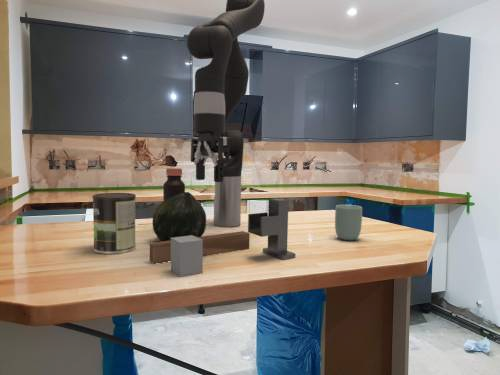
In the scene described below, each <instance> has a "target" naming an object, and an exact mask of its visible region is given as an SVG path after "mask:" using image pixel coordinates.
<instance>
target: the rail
mask: <svg viewBox="0 0 500 375" xmlns="http://www.w3.org/2000/svg"><path fill="white" fill-rule="evenodd" d="M250 235H251V233H249V232H248V231H244V230H242V231H234V232H227V233H217V234H211V235H202V236H201V237H197V238H200V239H202V240H203V257H207V255H209V256H215V255H220V254H219V253H221V254H226V252H227V253H232V251H233V252H238V250H239V251H245V250H249V249H250V238H251V237H250ZM214 254H215V255H214ZM150 261H151V262H150ZM168 261H171V241H157V242H156V241H155V242H150V243H149V262H150V263H152V262H153V263H154V264H153V263H152V264H153V265H157V264H156V263H160V264H164V263H163V262H166V263H169V262H168Z"/></svg>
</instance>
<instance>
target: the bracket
mask: <svg viewBox="0 0 500 375" xmlns="http://www.w3.org/2000/svg"><path fill="white" fill-rule="evenodd" d="M267 211H268V212H267ZM267 211H266V212H265V211H264V212H257V213H248V215H247V216H248V219H247V222H248V223H247V233H250V234H253V235H255V236H258V237H262V238H263V237H267V247H263V248H262V253H264V254H267V255H270V256H272V257H274V258H277V259H279V260H282V261H283V260H290V259H294V258H296V253H295V252H293V251H290V250H288V232H289V230H288V228H289V227H288V226H289V199H285V198H280V197H279V198H278V197H277V198H268V210H267Z"/></svg>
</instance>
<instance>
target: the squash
mask: <svg viewBox="0 0 500 375" xmlns="http://www.w3.org/2000/svg"><path fill="white" fill-rule="evenodd" d="M152 216H153V217H152V228H153V232H154V234H155V235H156V237H157V238H158V239H159V240H160V241H161V242H163V241H171V238H174V237H182V236H190V235H193V236H195V237H202V236H204V233H205V232H206V227H207V213H206V211H205V209H204V207H203V206H202V204H201V203H200V202H199V201H198V200H197V198H196V197H195V196H194V195H193V194H192V193H191V192H189V191H185V192H183V193H180V194H177V195H175V196H173V197H170V198H168V199H166V200H164V201H162V202H161V203H160V204H159V205H158V206H157V207H156V209H155V211H154V212H153V215H152Z"/></svg>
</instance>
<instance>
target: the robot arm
mask: <svg viewBox="0 0 500 375" xmlns="http://www.w3.org/2000/svg"><path fill="white" fill-rule="evenodd" d="M265 4H266V3H265V0H226V4H225V5H226V6H225V12H222V13H220V14H218V16H216V17H215V18H214V19H213V20H212V21H207V22H205V23H202V24H200V25H199V24H198V25H196V26H195V27H193V28H192V29H191V30H190V31H189V33H188V36H187V39H186V47H187V50H188V52H189V54H190V55H191V56H192V57H193V58H196V59H197V60H198V59H199V60H209V59H211V61H210V62H209V64H208V65H205V66H202V67H199V68H198V69H197V70H196V71H195V74H194V100H193V132H194V133H195V134H198V138H193V137H192V138H191V140H190V141H191V144H190V145H191V146H190V162H191V163H193V164H194V165H195V179H196V180H197V181H204V180H205V179H206V165H205V164H206V161H207V159H209V158H210V159H212V163H213V182H214V197H213V223H214V225H215V226H216V227H223V228H224V227H226V228H227V227H228V228H229V227H230V228H231V227H237V226H240V225H241V222H242V221H241V217H242V216H241V214H242V213H241V212H242V207H241V206H242V171H243V160H244V159H243V158H244V145H245V142H244V140H245V139H244V134H243V133H242V131H240V130H237V129H226V128H227V123H228V120H229V118H230V116H231V115H232V113H233V112H234V110H235V109H236V108H237V107H238V106H239V105H240V103H241V102H242V100H243V99H244V97H245V96H246V93H247V89H248V82H249V76H250V72H249V68H248V65H247V62H246V59H245V57H244V55H243V53H242V50H241V47H240V44H239V38H238V37H240V36H241V35H242V34H244V33H246V32H249V31H251V30H253V29H256V28H257V27H259V26H260V25H261V24H262V21H263V19H264V16H265Z"/></svg>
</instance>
